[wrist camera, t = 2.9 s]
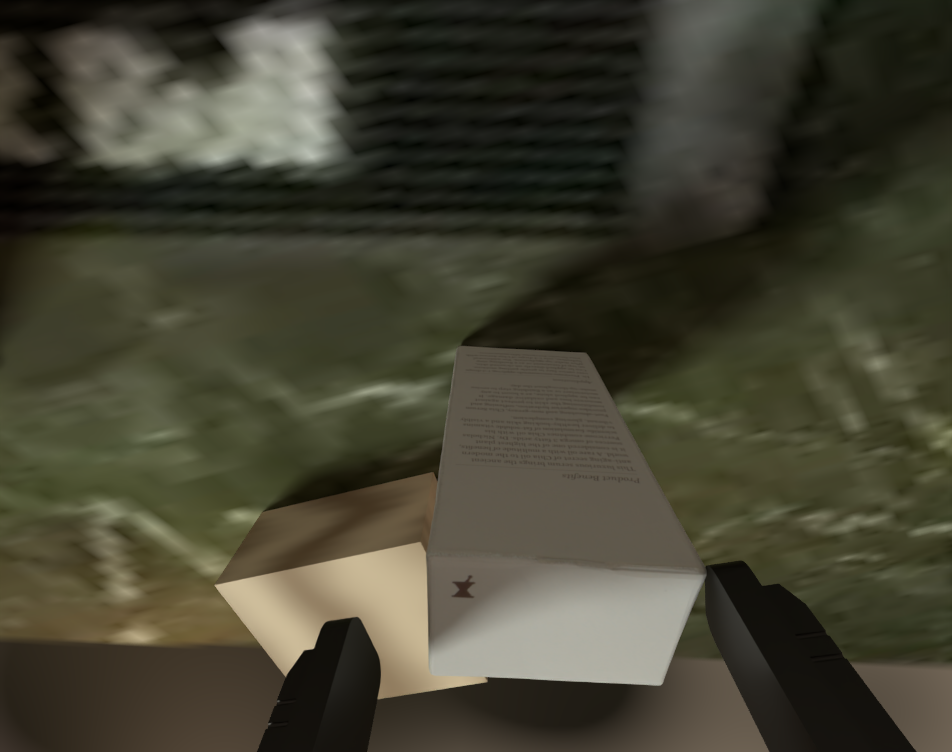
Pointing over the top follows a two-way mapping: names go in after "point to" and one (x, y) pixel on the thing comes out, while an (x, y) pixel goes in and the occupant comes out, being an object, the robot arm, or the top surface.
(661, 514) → the skincare box
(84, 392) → the top surface
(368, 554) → the birch block
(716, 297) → the top surface
